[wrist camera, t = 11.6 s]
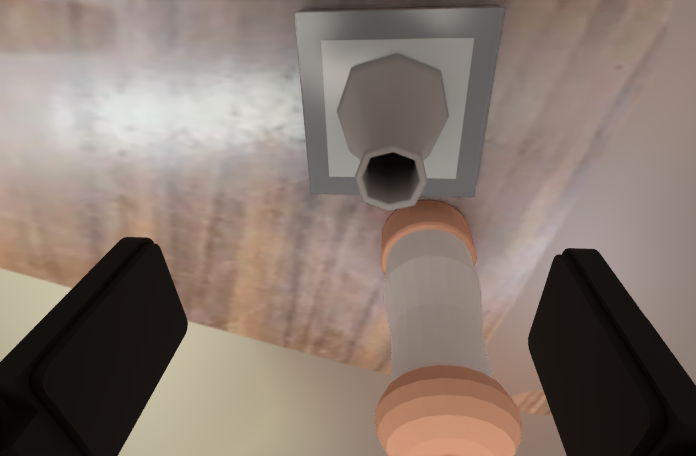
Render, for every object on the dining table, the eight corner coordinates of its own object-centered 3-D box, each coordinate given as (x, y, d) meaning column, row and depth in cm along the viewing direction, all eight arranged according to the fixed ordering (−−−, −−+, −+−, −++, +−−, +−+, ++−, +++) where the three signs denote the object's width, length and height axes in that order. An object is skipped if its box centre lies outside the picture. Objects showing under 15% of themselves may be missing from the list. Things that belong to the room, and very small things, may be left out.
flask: (458, 54, 23) (493, 100, 15) (440, 167, 27) (460, 252, 19) (337, 50, 24) (306, 91, 16) (336, 161, 28) (311, 241, 19)
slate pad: (301, 10, 25) (293, 12, 23) (497, 4, 24) (505, 7, 22) (315, 182, 31) (310, 194, 30) (469, 185, 30) (474, 198, 28)
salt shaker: (391, 192, 31) (388, 424, 15) (482, 208, 31) (574, 458, 15) (374, 263, 35) (357, 505, 19) (454, 277, 35) (504, 532, 19)
